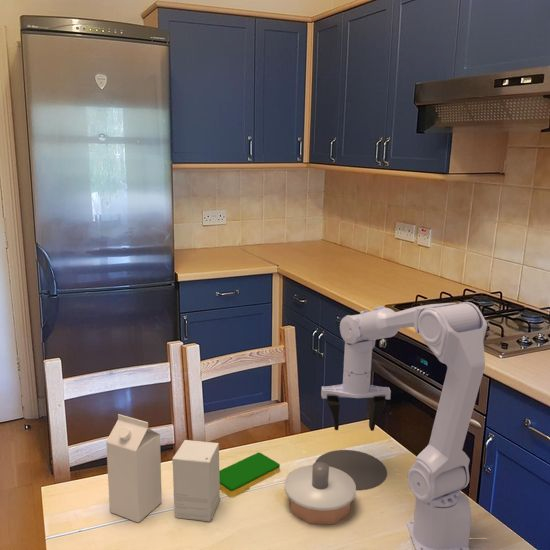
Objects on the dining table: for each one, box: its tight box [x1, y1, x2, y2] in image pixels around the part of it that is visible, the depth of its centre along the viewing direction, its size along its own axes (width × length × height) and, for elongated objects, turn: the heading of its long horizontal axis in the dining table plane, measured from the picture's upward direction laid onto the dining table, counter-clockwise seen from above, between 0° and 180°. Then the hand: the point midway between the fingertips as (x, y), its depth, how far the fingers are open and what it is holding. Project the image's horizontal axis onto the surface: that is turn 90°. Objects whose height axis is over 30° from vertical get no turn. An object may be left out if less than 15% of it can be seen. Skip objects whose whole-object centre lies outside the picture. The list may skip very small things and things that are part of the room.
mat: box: [314, 449, 388, 492], centre depth 123 cm, size 16×16×1 cm
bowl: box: [289, 498, 351, 525], centre depth 109 cm, size 12×12×4 cm
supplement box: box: [171, 439, 221, 522], centre depth 107 cm, size 7×7×13 cm
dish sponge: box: [219, 452, 281, 498], centre depth 119 cm, size 7×14×2 cm, turn 133°
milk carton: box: [105, 413, 163, 523], centre depth 106 cm, size 7×7×19 cm
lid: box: [283, 461, 357, 511], centre depth 109 cm, size 14×14×5 cm
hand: (353, 428), depth 120 cm, fingers open, 7 cm apart
